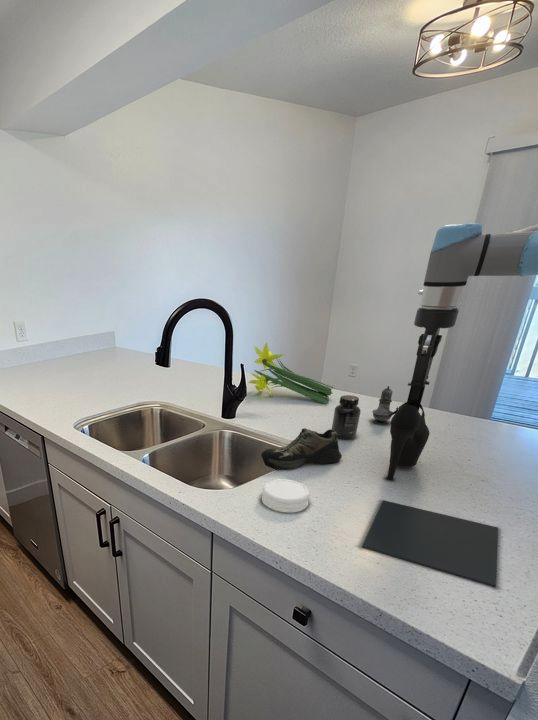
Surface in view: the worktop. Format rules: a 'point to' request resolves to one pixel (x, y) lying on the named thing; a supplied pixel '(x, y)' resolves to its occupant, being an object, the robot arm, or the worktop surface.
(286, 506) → the coaster
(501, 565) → the worktop surface
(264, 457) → the hiking shoe
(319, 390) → the daffodil flowers
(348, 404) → the supplement bottle
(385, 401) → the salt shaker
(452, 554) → the mat
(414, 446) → the high-heeled shoe
